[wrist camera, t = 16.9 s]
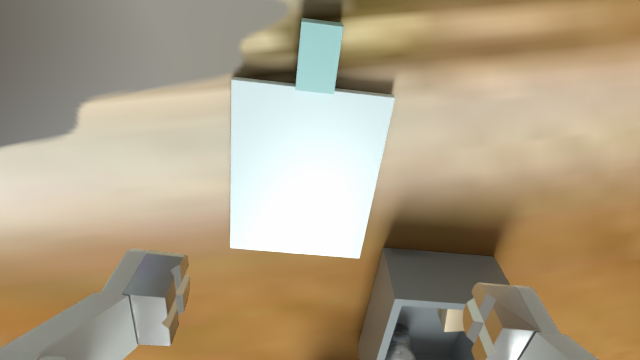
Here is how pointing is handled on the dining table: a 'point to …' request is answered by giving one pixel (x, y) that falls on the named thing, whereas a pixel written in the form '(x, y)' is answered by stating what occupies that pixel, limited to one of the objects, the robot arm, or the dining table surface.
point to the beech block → (451, 319)
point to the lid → (305, 154)
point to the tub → (423, 301)
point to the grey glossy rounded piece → (400, 345)
